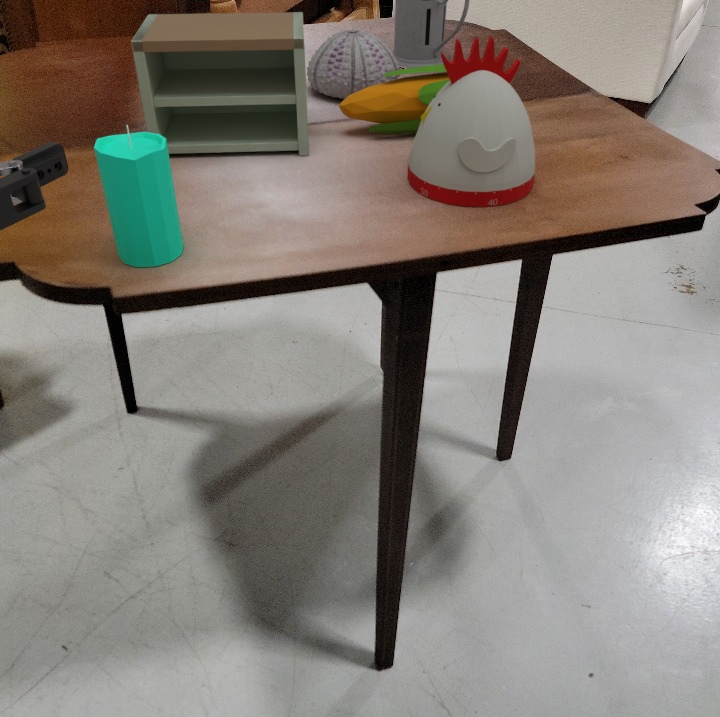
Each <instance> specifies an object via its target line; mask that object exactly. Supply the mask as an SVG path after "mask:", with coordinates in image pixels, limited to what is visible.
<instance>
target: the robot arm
mask: <svg viewBox="0 0 720 717" xmlns="http://www.w3.org/2000/svg"><path fill="white" fill-rule="evenodd" d="M68 172H69V163H68V160H67V155H66V152H65V148H64V146H63V144H61V143H57V142H53V141H50V142H47V143H45V144H43V145H41V146H38V147H36V148H34V149H32V150H29V151H27V152H25V153H23V154H19V155H18V156H16V157H13V158H12V159H10V160H5V161H0V231H3V230H4V229H6V228H8V227H11V226H13V225H15V224H17V223H19V222H21V221H23V220H25V219H28V218H29V217H31V216H33V215H36V214H38V213H40V212H42V211H44V210H45V209H46V208H47V204H46V200H45V198H44V196H43V191H42V187H44V186H46V185H48V184H50V183H52V182H54V181H56V180H58V179H60V178H62V177H64V176H66V175H67V173H68Z"/></svg>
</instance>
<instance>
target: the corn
mask: <svg viewBox="0 0 720 717" xmlns="http://www.w3.org/2000/svg"><path fill="white" fill-rule="evenodd" d="M424 73H429V74H424ZM409 74H421V75H413V76H404V77H400V78H398V79H396V80H392V81H388V82H385V83H381V84H377V85H373V86H369V87H367V88H365V89H362V90H360V91H358V92H355V93H353V94H351V95H349V96H347V97H346V98H345V99H342V101H341V102H340V103H339V104H338V108H339V109H340V111H341V113H342V115H344V116H345V117H347V118H349V119H352V120H353V119H354V120H359V121H364V122H369V123H373V124H375V123H376V124H375V125H372V126H370V127H369V128H368V132H372V133H376V134H377V133H378V134H387V135H403V134H404V135H405V134H406V135H407V134H417V131H418V128H419V125H420V123H421V116H422V115H423V114H424V113H425V111H426V109H427V107H428V106H429V104H430V103H431V101H432V100H433V98H434V96H435V95H436V94H437V93H438V92H439V91H440V90H441V89H442V87H443V86H445V85H446V84H447V83H448V82H449V81H450V79H449V76H448V74H447V71H446V69H445V67H444V64H440V65H431V66H423V67H415V68H407V69H402V68H400V70H396V71H392V72H389V73H385V74H382V75H383V76H395V75H400V76H401V75H409Z"/></svg>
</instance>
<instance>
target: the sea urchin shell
mask: <svg viewBox="0 0 720 717" xmlns="http://www.w3.org/2000/svg"><path fill="white" fill-rule="evenodd" d="M398 64H399V63H398V62H397V60H396V58H395V57H394V51H393V52H392V50H391V47H390V46H388V45H387V44H386V42H385V41H384V40H381V39H380V37H378V36H375V35H374V34H373V33H370V32H368V31H364V30H359V29H350V30H341V31H338V32H335V34H334V33H333V34H332V35H331V36H330V37H329V36H328V37H327V39H326V40H325V41H323V42H322V44H320V47H318V49H316V50H315V52H314V54H313V55H312V56H311V59H310V60H309V61H308V66H307V67H306V77H307V81H308V82H309V86H310V87H312V88H313V89H314V91H317V92H318V93H319V94H324V96H327V97H328V96H329V97H331V98H339V99H340V100H344V99H345V98H346V97H347V96H349V95H351V94H353V93H355V92H358V91H360V90H362V89H365V88H367V87H369V86H373V85H377V84H381V83H385V82H388V81H392V80H396V79H399V77H400V76H401V75H395V76H383V75H382V74H385V73H389V72H392V71H396V70H400V69H401V68H399V67H398Z"/></svg>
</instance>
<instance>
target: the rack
mask: <svg viewBox="0 0 720 717" xmlns="http://www.w3.org/2000/svg"><path fill="white" fill-rule="evenodd" d="M304 27H305V26H304V12H303V11H294V12H293V11H289V12H288V11H287V12H226V13H225V12H223V13H220V12H219V13H218V12H217V13H216V12H215V13H153V14H152V13H151V14H148V15H146V17H145V19H144V21H143V22H142V23H141V25H140V27H139V28H138V29H137V31H136V32H135V34H134V36H133V37H132V38H131V40H130V44H131V49H132V50H131V51H132V54H133V60H134V67H135V71H136V77H137V83H138V88H139V94H140V100H141V105H142V111H143V117H144V122H145V128H146V132H150V133H156V134H160V135H161V136H163V137H165V138H166V141H167V147H168V153H169V155H172V154H173V155H174V154H175V155H176V154H177V155H178V154H211V153H212V154H213V153H216V154H217V153H244V152H245V153H247V152H248V153H249V152H250V153H251V152H255V153H256V152H288V151H289V152H290V151H298V156H301V157H303V156H305V157H307V156H310V147H309V146H310V144H309V124H308V123H309V122H308V99H307V98H308V97H307V96H308V95H307V70H306V50H305V30H304Z"/></svg>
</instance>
